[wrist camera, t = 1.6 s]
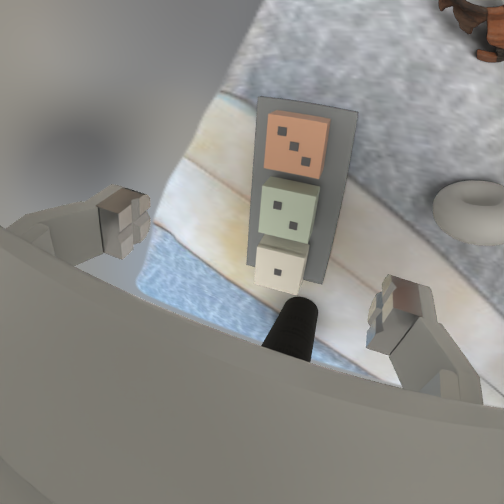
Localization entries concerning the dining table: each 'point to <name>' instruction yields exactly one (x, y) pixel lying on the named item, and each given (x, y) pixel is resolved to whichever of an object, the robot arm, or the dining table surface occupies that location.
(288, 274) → the cream tile
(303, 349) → the drinking cup
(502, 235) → the donut
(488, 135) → the dining table surface
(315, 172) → the terracotta tile
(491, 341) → the dining table surface
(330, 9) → the dining table surface
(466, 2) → the brown rounded piece
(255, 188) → the board
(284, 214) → the sage tile
